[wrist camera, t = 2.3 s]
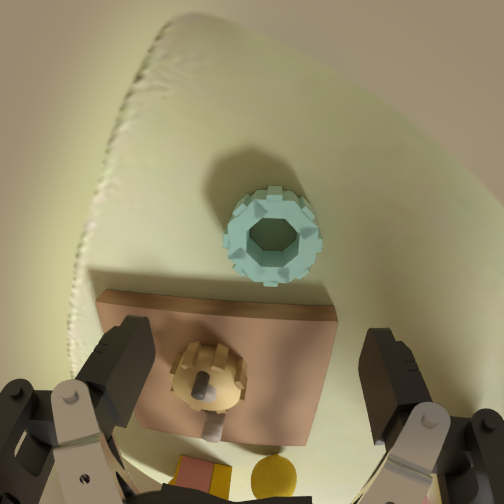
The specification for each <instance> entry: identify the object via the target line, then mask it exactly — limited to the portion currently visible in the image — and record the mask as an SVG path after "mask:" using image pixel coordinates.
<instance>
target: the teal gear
mask: <svg viewBox="0 0 504 504" xmlns="http://www.w3.org/2000/svg"><path fill="white" fill-rule="evenodd" d="M261 218H278V219H286V220H287V221H288V223H289V224H290V225H291V226H292V227H293V228H294V229H295V230H296V231H297V239H296V240H295V241H294V242H293V243H291V244H290V245H289V246H288V247H287V248H285V249H284V250H283V251H268V250H262V249H261V248H260V247H259V246H258V245H257V244H256V243H255V242H254V241H253V240H252V239H251V238H250V228H251V227H252V226H254V225H255V224H256V223H257V222H258V221H259V220H260V219H261ZM322 240H323V239H322V236H321V233H320V229H319V226H318V224H317V221H316V218H315V214H314V211H313V208H312V205H311V204H310V203H309V202H308V201H307V200H306V199H305V198H304V197H303V196H301V197H300V198H298V197H297V196H296V195H295V194H294V192H293V191H282V186H269V185H268V190H257V191H256V192H255V193H254V194H252V195H251V196H250V195H249V194H248V193H247V194H246V195H245V196H244V197H243V198H241V199H240V200H239V201H238V202H237V204H236V206H235V208H234V210H233V213H232V216H231V218H230V220H229V222H228V225H227V227H226V229H225V231H224V234H223V248H228V258H229V259H230V260H231V261H232V262H233V263H234V265H233V269H234V270H235V271H236V272H237V273H239V274H240V275H241V276H242V277H244V276H245V275H247V276H248V277H249V278H250V279H251V280H252V281H253V282H264V286H272V287H277V286H278V283H289V282H290V281H292V280H293V279H294V278H297V279H298V280H300V279H301V278H303V277H304V276H305V275H307V274H308V273H309V272H310V269H309V267H310V266H311V265H312V264H314V263H315V260H316V253H321V249H322Z"/></svg>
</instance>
